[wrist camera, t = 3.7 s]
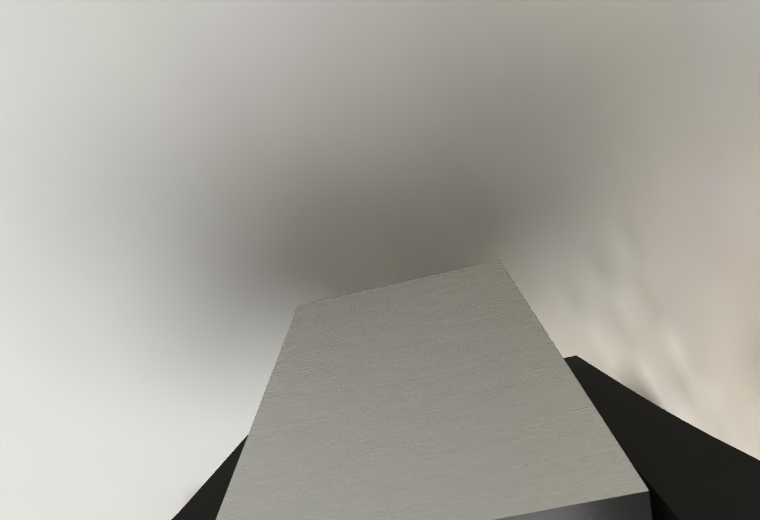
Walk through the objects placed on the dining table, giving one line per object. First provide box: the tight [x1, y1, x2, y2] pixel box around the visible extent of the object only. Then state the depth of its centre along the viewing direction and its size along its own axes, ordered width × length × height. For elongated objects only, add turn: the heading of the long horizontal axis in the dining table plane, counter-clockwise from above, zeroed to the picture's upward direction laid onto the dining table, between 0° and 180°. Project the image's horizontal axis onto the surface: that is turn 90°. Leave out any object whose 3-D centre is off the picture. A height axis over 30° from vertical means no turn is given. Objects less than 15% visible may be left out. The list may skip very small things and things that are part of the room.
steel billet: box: [216, 260, 652, 520], centre depth 8 cm, size 4×4×6 cm
